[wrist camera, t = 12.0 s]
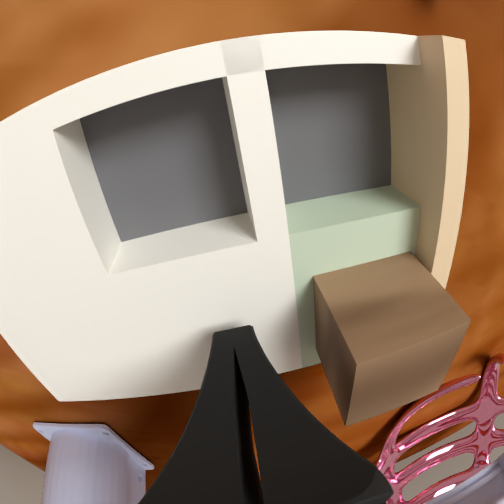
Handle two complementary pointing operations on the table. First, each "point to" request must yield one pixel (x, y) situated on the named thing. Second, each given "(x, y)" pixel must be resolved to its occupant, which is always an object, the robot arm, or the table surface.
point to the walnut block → (384, 334)
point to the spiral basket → (475, 443)
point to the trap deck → (221, 200)
